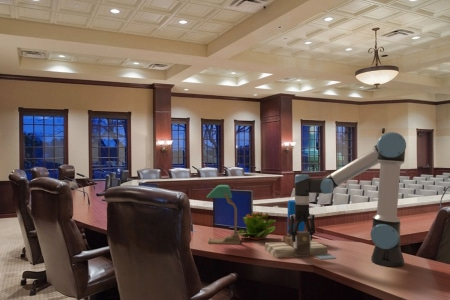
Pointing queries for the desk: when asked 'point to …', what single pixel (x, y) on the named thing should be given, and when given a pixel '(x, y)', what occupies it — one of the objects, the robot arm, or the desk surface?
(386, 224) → the robot arm
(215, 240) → the banker's lamp
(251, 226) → the potted flower
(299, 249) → the marking gauge
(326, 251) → the log raft
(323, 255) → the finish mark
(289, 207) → the blue slotted block
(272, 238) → the desk surface
